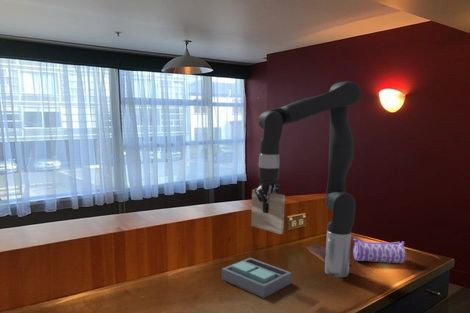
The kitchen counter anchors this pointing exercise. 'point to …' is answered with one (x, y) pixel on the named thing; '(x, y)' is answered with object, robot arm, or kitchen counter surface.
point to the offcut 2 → (261, 275)
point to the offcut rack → (253, 286)
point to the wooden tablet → (318, 252)
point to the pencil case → (379, 251)
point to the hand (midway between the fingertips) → (267, 212)
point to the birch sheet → (274, 216)
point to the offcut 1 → (243, 268)
